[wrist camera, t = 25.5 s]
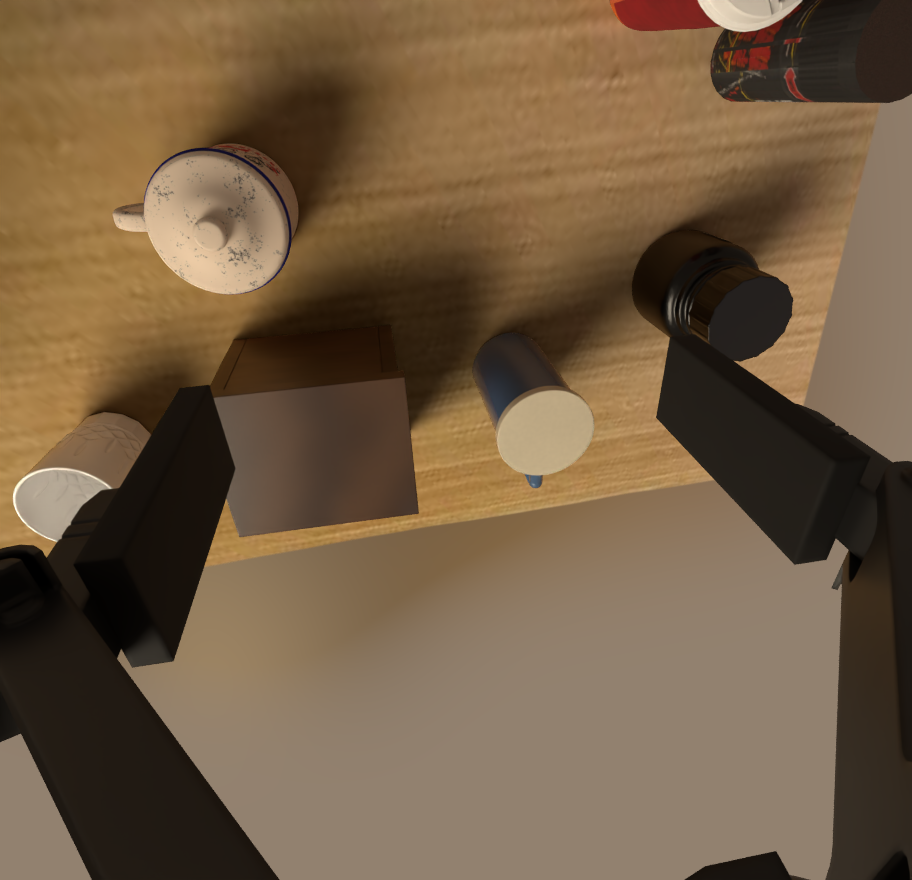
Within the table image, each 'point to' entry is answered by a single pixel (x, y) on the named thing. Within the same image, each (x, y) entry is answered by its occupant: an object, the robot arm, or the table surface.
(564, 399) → the blue lidded mug
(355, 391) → the brown miniature bookshelf
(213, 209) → the teacup with lid
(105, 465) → the white cup
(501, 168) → the table surface
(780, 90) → the deodorant
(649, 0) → the coffee cup
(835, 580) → the robot arm
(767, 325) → the ink bottle
